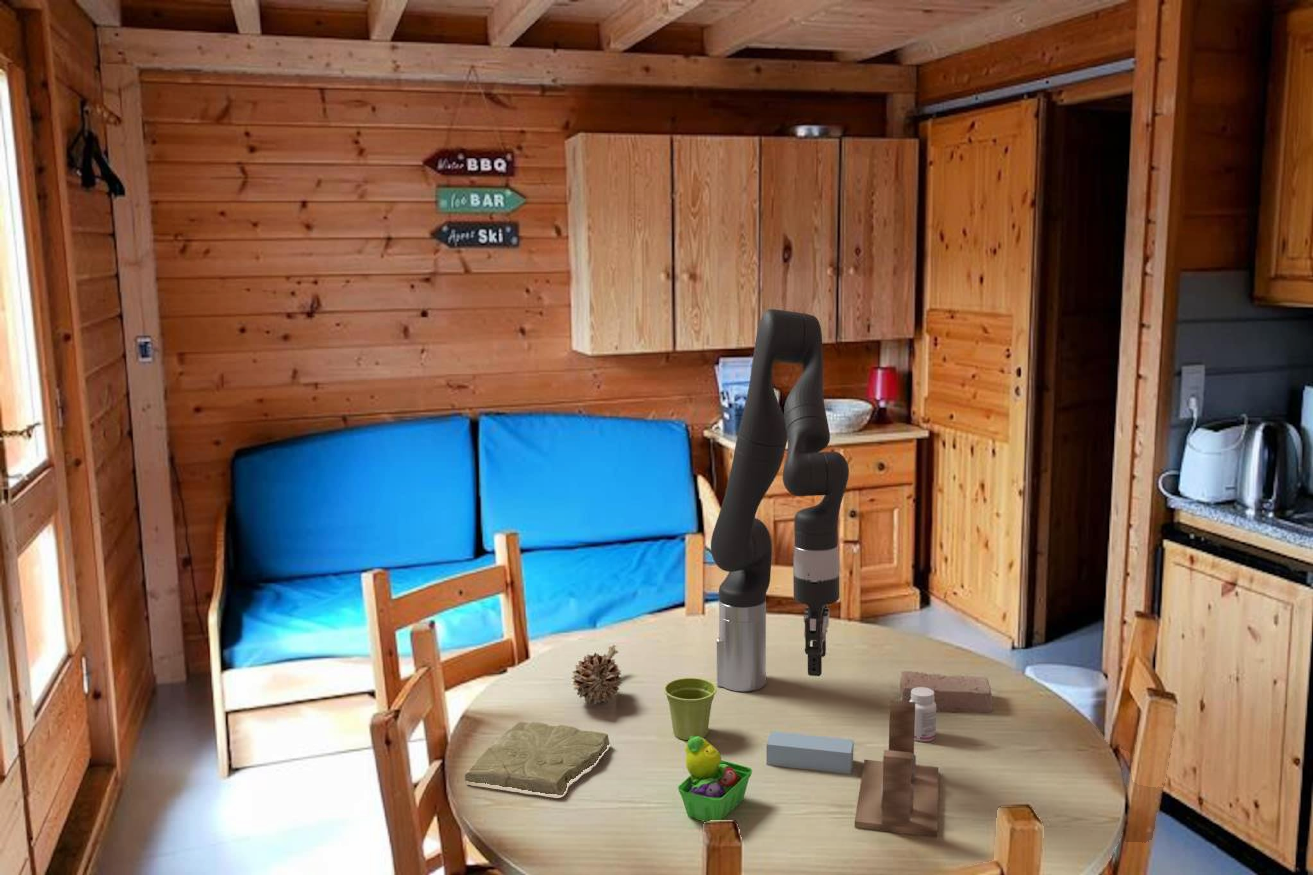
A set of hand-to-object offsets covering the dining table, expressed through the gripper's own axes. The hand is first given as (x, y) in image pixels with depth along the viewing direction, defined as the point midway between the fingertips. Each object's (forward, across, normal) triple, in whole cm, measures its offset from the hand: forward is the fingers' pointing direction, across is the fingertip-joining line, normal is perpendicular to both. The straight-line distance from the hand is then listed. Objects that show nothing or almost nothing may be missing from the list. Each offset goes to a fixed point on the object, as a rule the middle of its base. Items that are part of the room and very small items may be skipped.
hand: (817, 665), depth 182 cm
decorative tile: (+17, +11, -46) cm, 50 cm away
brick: (+17, -28, +22) cm, 40 cm away
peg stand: (+17, +10, +14) cm, 24 cm away
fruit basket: (+17, +19, -15) cm, 29 cm away
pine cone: (+16, -19, -44) cm, 50 cm away
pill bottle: (+17, -12, +17) cm, 27 cm away
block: (+17, +1, -1) cm, 17 cm away
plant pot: (+17, -6, -23) cm, 29 cm away
